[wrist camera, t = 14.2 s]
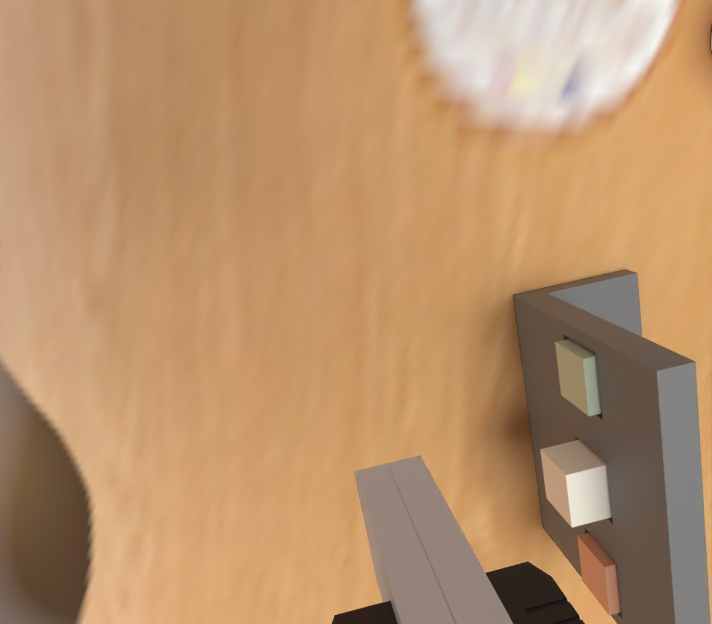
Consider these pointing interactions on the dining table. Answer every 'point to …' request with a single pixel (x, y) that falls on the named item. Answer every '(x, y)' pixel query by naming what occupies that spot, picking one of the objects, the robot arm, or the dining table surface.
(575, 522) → the ivory button
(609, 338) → the button panel
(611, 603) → the terracotta button
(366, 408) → the dining table surface
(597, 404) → the sage button
